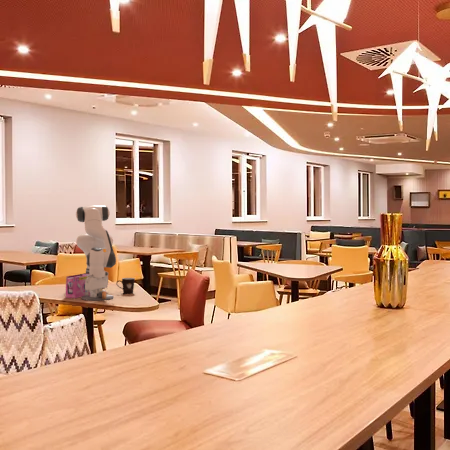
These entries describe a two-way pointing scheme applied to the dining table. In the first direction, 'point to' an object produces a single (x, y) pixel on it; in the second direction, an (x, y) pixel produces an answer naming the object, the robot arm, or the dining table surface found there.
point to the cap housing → (97, 298)
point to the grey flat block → (101, 294)
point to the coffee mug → (127, 285)
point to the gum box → (76, 285)
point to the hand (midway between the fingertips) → (96, 296)
